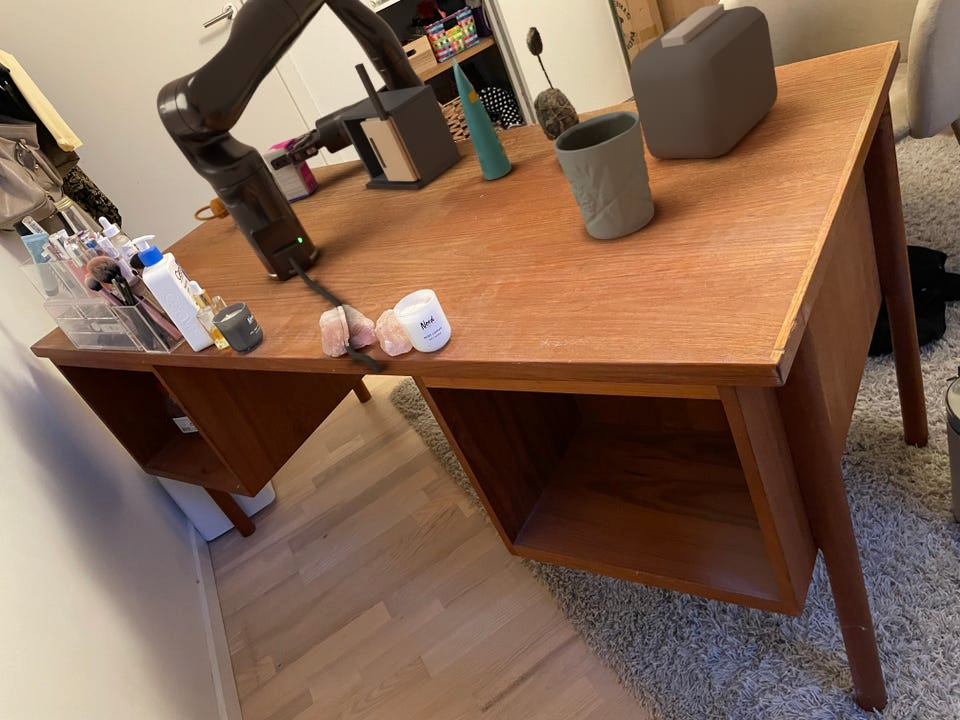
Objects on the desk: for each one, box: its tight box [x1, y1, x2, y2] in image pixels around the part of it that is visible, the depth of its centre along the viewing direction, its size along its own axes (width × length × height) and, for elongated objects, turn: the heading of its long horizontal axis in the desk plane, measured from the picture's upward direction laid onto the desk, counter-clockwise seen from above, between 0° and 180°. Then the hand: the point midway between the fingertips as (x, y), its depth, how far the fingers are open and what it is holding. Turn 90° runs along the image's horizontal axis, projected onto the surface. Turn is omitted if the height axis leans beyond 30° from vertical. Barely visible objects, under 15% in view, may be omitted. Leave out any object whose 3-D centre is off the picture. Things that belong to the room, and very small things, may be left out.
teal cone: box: [452, 56, 512, 181], centre depth 111 cm, size 7×5×19 cm, turn 13°
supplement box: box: [262, 138, 319, 204], centre depth 150 cm, size 6×6×12 cm
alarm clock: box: [629, 3, 779, 160], centre depth 89 cm, size 16×11×16 cm
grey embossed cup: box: [552, 110, 655, 240], centre depth 82 cm, size 10×10×12 cm
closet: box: [339, 84, 463, 191], centre depth 130 cm, size 12×18×14 cm, turn 44°
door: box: [354, 62, 417, 181], centre depth 123 cm, size 1×9×22 cm, turn 44°
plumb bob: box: [193, 171, 282, 222], centre depth 155 cm, size 9×9×25 cm
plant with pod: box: [525, 26, 581, 168], centre depth 102 cm, size 8×11×20 cm
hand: (274, 161), depth 148 cm, fingers closed on supplement box, 7 cm apart
